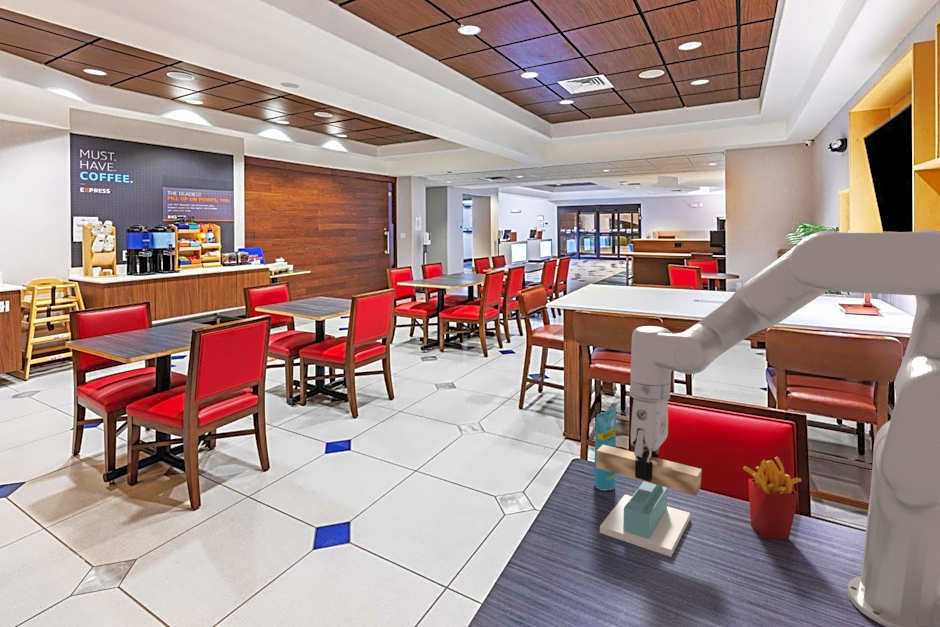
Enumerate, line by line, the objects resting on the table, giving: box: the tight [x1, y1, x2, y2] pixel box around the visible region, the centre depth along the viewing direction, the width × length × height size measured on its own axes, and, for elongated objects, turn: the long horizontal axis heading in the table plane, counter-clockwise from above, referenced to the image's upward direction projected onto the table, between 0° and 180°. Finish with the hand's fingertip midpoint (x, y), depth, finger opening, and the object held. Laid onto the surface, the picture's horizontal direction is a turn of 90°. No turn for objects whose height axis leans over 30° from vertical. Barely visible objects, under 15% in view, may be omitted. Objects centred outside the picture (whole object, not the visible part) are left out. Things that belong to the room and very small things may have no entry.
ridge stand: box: [599, 481, 691, 558], centre depth 104 cm, size 14×15×8 cm
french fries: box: [743, 456, 802, 540], centre depth 102 cm, size 9×8×15 cm
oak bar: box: [596, 445, 703, 496], centre depth 103 cm, size 20×4×4 cm, turn 54°
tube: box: [593, 406, 617, 490], centre depth 120 cm, size 7×5×19 cm, turn 134°
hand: (646, 473), depth 103 cm, fingers closed on oak bar, 3 cm apart
